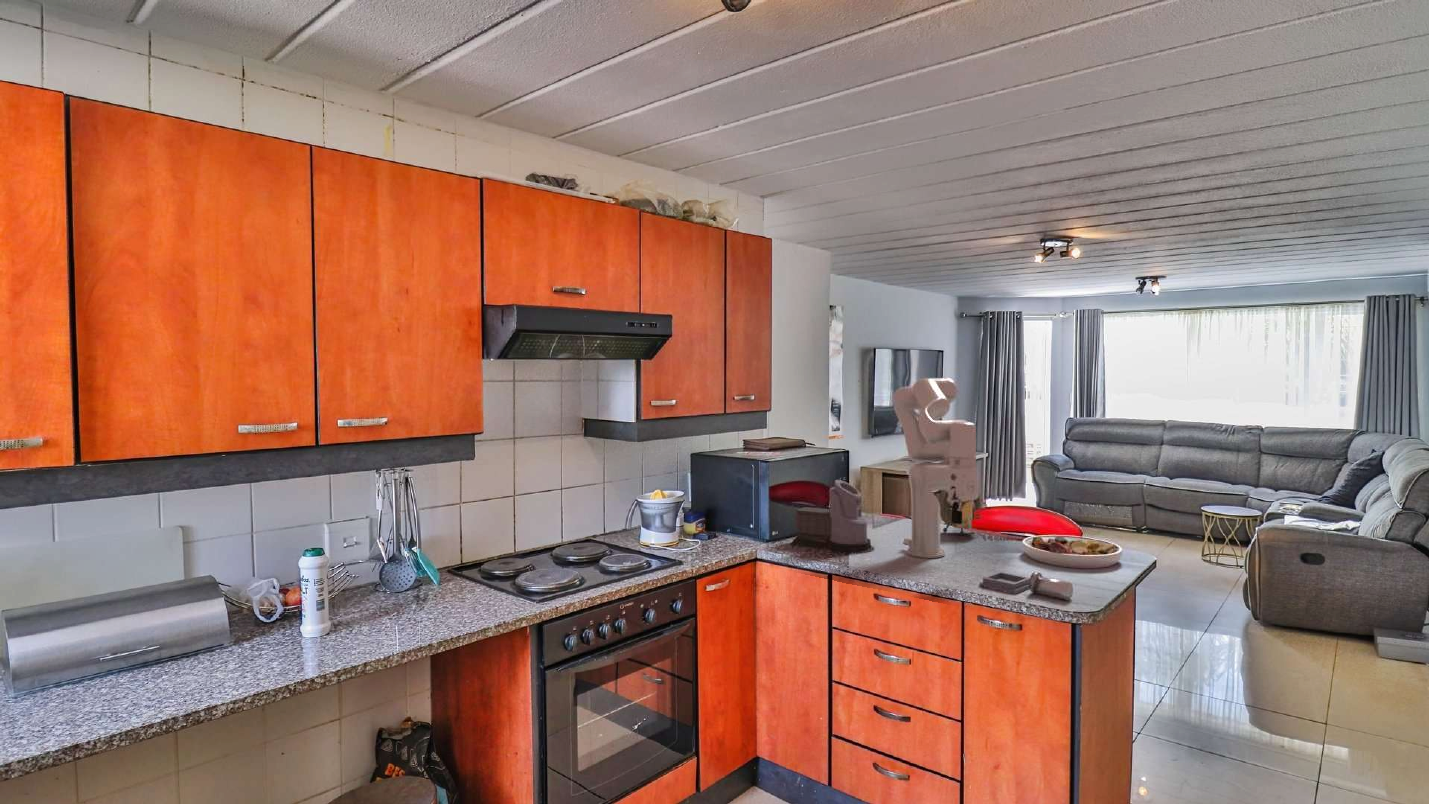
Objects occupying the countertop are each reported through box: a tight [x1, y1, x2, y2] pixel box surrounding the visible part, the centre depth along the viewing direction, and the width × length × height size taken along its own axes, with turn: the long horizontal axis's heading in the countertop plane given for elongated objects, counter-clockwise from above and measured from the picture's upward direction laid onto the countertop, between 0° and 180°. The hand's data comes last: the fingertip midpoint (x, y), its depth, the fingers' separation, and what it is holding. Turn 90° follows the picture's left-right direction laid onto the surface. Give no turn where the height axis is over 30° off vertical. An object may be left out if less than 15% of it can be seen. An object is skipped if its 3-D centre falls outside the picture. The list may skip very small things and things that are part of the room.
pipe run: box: [1029, 571, 1074, 601], centre depth 207 cm, size 10×6×6 cm, turn 40°
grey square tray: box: [979, 571, 1030, 595], centre depth 217 cm, size 11×11×2 cm
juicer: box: [789, 479, 876, 555], centre depth 270 cm, size 30×16×24 cm, turn 58°
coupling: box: [952, 499, 972, 530], centre depth 225 cm, size 6×6×8 cm
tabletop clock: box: [939, 490, 983, 536], centre depth 287 cm, size 14×9×25 cm, turn 85°
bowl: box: [1021, 534, 1123, 569], centre depth 248 cm, size 30×30×8 cm
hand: (962, 521), depth 225 cm, fingers closed on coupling, 5 cm apart
